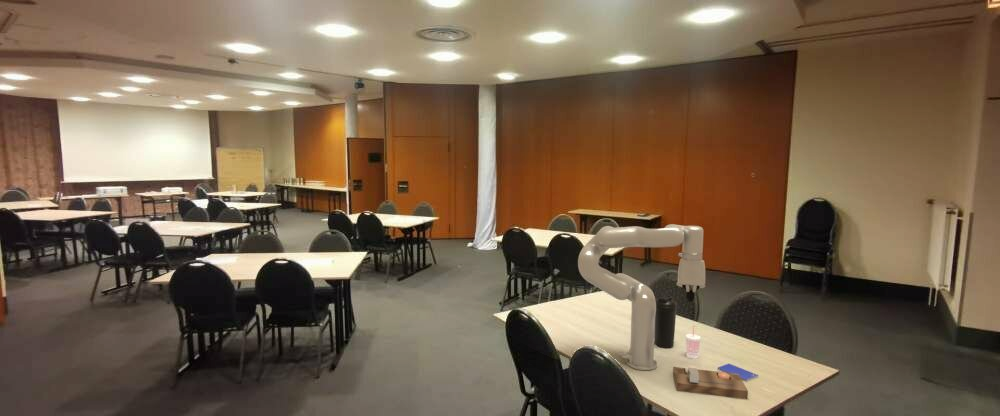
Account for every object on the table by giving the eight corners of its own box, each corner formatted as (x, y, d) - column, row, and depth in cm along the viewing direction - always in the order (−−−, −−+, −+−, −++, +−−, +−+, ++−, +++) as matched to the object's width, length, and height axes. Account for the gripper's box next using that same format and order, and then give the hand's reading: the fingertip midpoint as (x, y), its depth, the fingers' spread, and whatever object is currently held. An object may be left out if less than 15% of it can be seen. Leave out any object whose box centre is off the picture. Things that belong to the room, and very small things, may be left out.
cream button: (685, 376, 180) (686, 369, 179) (684, 371, 184) (684, 364, 183) (696, 377, 179) (697, 370, 178) (695, 373, 183) (695, 365, 182)
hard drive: (758, 374, 183) (729, 363, 194) (746, 379, 179) (717, 367, 190) (758, 378, 184) (729, 366, 194) (746, 383, 179) (717, 370, 190)
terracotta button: (718, 383, 177) (719, 376, 176) (716, 378, 181) (717, 371, 180) (730, 384, 176) (730, 377, 175) (727, 379, 180) (728, 372, 179)
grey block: (689, 382, 172) (690, 373, 172) (687, 376, 177) (688, 367, 177) (698, 383, 171) (698, 374, 171) (696, 377, 176) (696, 368, 176)
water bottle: (679, 344, 216) (681, 296, 213) (670, 351, 208) (672, 301, 206) (658, 338, 222) (659, 292, 220) (648, 345, 215) (650, 297, 213)
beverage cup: (702, 358, 201) (704, 327, 200) (691, 360, 199) (693, 328, 198) (692, 352, 207) (694, 322, 205) (681, 354, 205) (683, 324, 203)
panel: (677, 390, 173) (677, 382, 172) (673, 373, 186) (673, 366, 186) (747, 399, 167) (748, 391, 166) (738, 381, 180) (738, 373, 180)
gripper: (673, 257, 184) (671, 302, 186) (713, 259, 180) (711, 305, 182) (671, 253, 191) (669, 296, 193) (710, 255, 187) (708, 299, 189)
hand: (690, 300), depth 187 cm, fingers closed
